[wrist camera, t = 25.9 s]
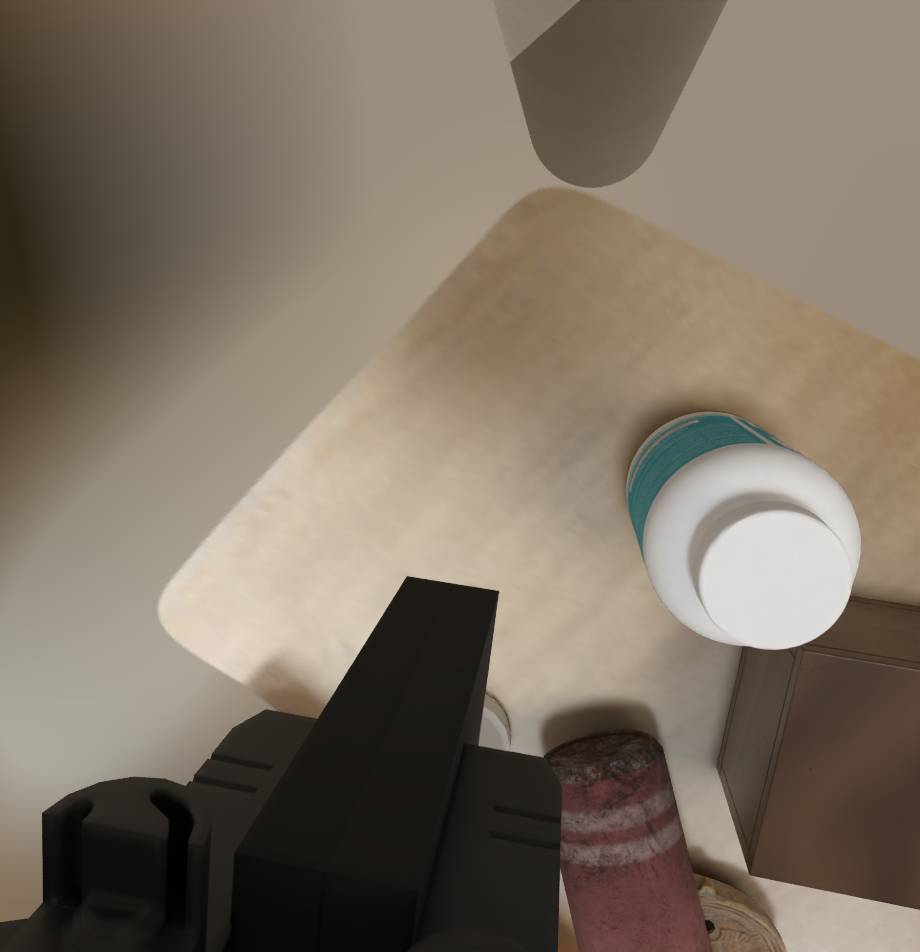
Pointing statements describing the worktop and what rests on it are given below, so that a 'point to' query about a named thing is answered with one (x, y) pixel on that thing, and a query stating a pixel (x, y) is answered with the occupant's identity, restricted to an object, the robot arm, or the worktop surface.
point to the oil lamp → (735, 920)
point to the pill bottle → (742, 532)
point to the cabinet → (831, 757)
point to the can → (625, 847)
